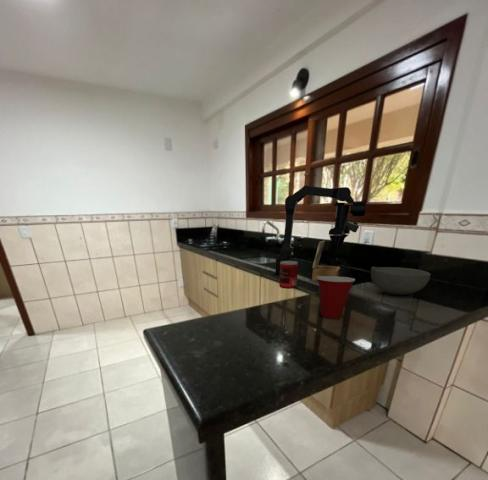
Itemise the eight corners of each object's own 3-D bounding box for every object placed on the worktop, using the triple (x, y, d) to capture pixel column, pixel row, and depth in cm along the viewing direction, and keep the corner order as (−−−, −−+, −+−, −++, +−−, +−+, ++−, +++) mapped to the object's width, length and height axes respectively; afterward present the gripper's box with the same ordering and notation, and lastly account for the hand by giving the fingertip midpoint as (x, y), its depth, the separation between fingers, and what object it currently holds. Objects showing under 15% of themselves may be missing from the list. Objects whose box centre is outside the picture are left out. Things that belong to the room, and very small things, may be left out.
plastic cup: (349, 312, 84) (354, 274, 80) (350, 323, 74) (356, 281, 70) (314, 308, 87) (318, 272, 83) (311, 319, 78) (315, 278, 73)
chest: (338, 277, 137) (340, 266, 135) (336, 282, 126) (337, 270, 124) (316, 276, 142) (317, 265, 140) (311, 280, 131) (312, 268, 129)
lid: (324, 240, 134) (323, 240, 134) (320, 242, 123) (319, 241, 124) (318, 264, 139) (316, 264, 139) (313, 268, 129) (312, 267, 129)
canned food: (295, 285, 121) (297, 260, 117) (297, 289, 114) (298, 263, 110) (278, 284, 122) (279, 260, 118) (279, 288, 114) (280, 263, 111)
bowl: (414, 304, 92) (421, 275, 88) (358, 293, 106) (362, 268, 103) (432, 294, 104) (438, 269, 101) (379, 286, 119) (384, 263, 115)
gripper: (355, 215, 117) (350, 251, 123) (362, 216, 132) (357, 248, 138) (330, 216, 123) (326, 250, 129) (339, 216, 138) (336, 247, 143)
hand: (337, 249), depth 134 cm, fingers open, 9 cm apart
